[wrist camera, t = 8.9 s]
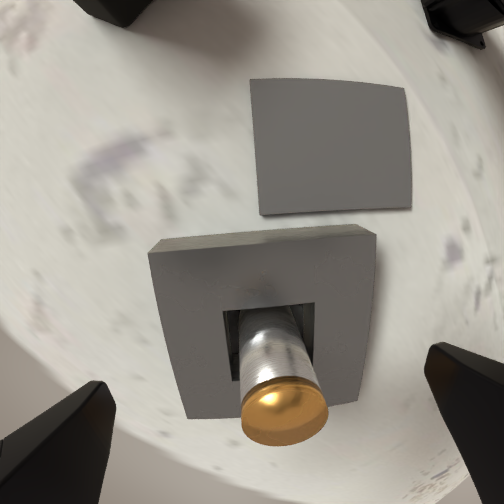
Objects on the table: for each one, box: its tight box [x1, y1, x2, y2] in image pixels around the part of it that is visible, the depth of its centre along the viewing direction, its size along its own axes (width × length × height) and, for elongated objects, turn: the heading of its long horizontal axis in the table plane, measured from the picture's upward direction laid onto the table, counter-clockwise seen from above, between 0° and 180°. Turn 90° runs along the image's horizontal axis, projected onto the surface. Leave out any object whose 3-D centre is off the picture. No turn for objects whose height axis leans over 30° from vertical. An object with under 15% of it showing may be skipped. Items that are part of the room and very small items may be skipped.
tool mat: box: [250, 78, 411, 215], centre depth 16 cm, size 10×8×1 cm
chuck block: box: [148, 224, 376, 419], centre depth 18 cm, size 12×12×3 cm
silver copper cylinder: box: [238, 305, 328, 446], centre depth 15 cm, size 4×4×9 cm
